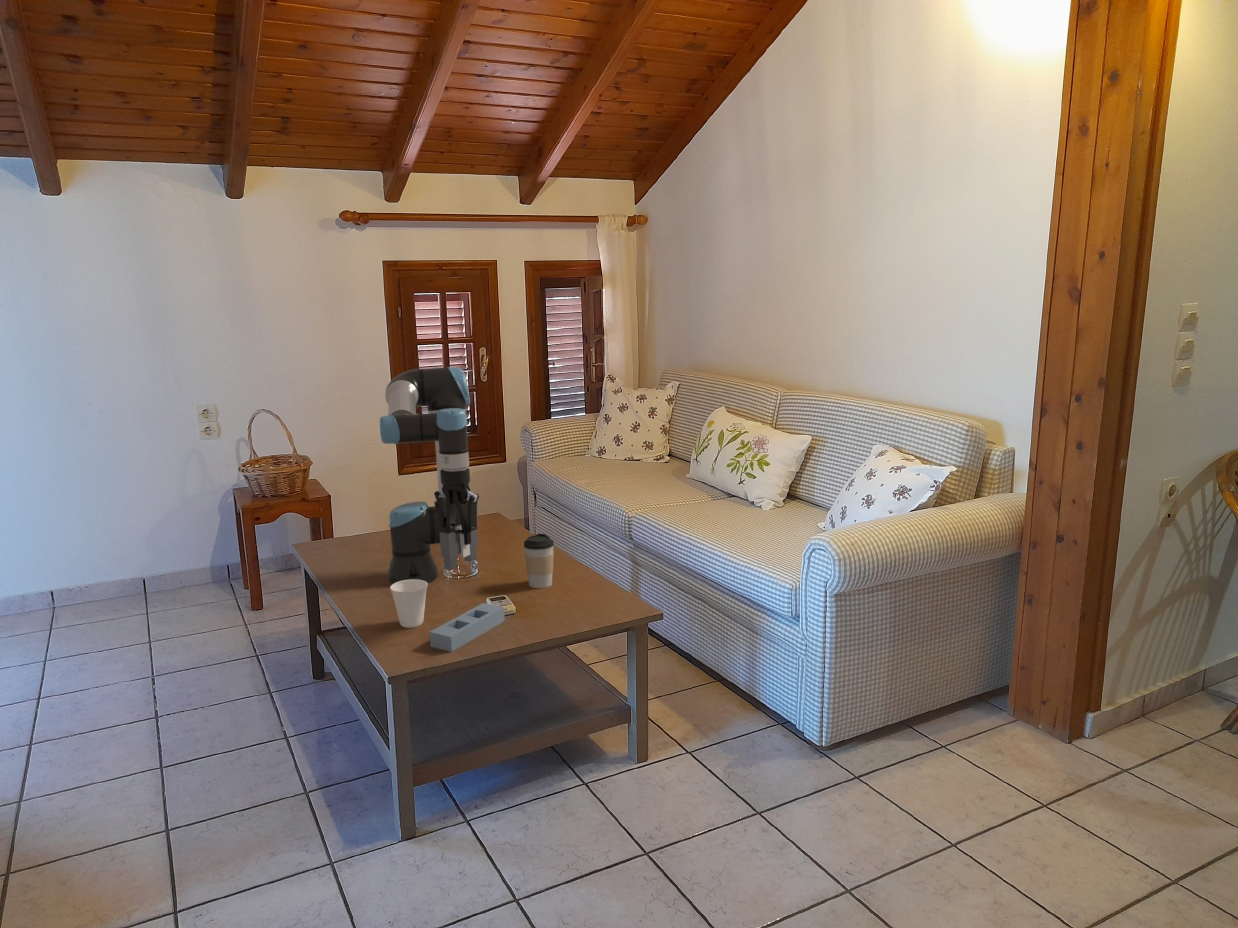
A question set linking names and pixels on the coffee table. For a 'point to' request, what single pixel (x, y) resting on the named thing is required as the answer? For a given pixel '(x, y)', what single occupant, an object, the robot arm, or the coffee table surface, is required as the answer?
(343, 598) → the coffee table surface
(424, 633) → the coffee table surface
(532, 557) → the coffee cup
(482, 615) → the grey block with hole
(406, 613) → the cup
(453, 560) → the clip
